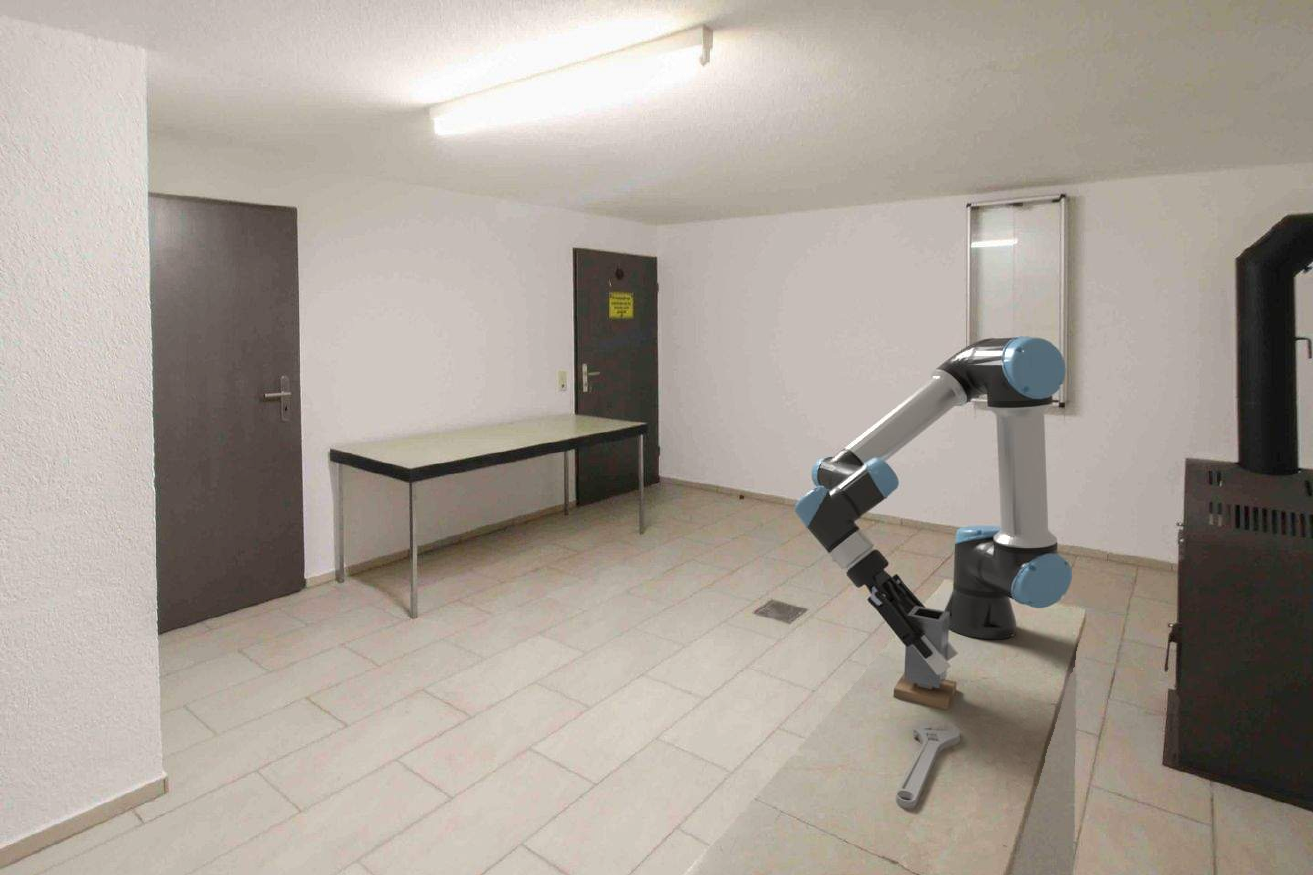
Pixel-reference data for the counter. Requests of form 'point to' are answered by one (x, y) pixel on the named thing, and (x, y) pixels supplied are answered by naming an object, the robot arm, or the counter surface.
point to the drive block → (926, 693)
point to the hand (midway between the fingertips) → (947, 663)
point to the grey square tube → (937, 633)
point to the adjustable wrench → (924, 760)
